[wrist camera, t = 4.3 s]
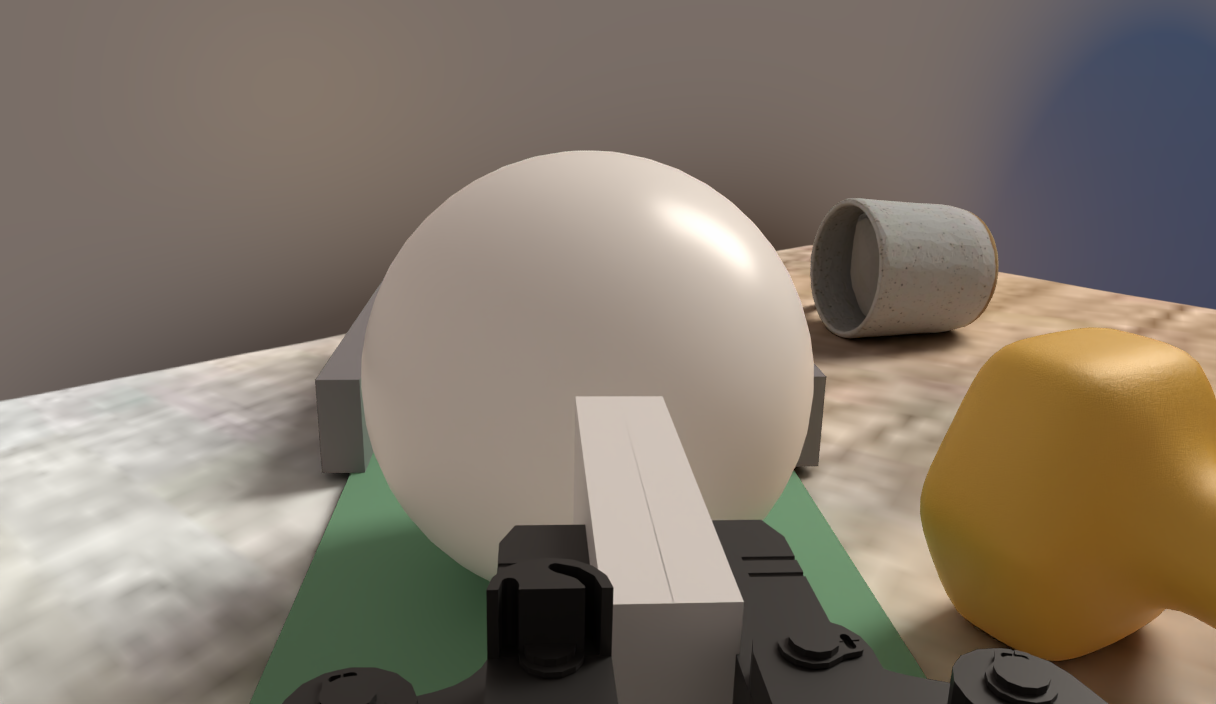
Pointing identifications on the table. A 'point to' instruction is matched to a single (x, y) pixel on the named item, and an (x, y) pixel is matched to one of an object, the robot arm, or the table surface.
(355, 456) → the grey open tray
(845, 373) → the table surface
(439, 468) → the ball
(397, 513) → the green mat
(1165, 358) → the dumbbell
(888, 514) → the table surface
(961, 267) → the ceramic mug
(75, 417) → the table surface
